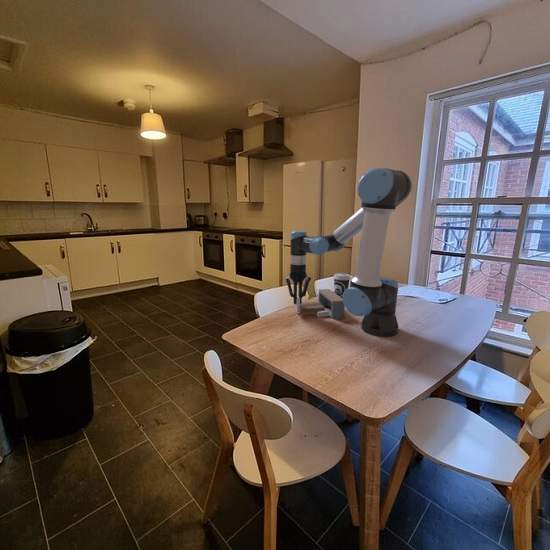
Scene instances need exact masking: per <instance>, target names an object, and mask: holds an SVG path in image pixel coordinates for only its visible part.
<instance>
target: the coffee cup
mask: <svg viewBox="0 0 550 550" xmlns="http://www.w3.org/2000/svg"><path fill="white" fill-rule="evenodd" d="M351 278H352V277H351V276H350V274H349V273H344V272H336V273H334V274H333V284H334V286H333V288H334V293H335V294H337V295H338V296H339V297H341V298H342V299H343V293H344V291H345V290H346V289H347V288H349V287H350V281H351Z"/></svg>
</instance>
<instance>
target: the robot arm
mask: <svg viewBox="0 0 550 550" xmlns="http://www.w3.org/2000/svg"><path fill="white" fill-rule="evenodd" d="M412 188H413V187H412V180H411V178H410V176H409V175H408V174H407V173H406V172H404V171H402V170H398V169H397V170H396V169H390V168H387V167H375V168H371V169H368V171H365V173H364V174H363V175H362V176H361V177H360V179H359V181H358V184H357V196H358V197H359V199H360V200H361V205H360V206H361V207H360V209H358V210H357V211H356V212H355V213H353V214H352V215H351V216H350V217H349V218H348V219H347V220H345V221H344V222H343V223H342V224H341V225H339V227H337V228H336V229H335V230H334V231H333V232H332V233H330V234H329V235H319V236H308V234H307V231H306V230H293V231H291V233H290V240H289V241H290V265H289V266H290V267H289V268H290V271H289V275H288V276H287V277H284V280H285V283H286V284H287V289H288V293H289V296H290V297H291V298H293V304H294V305H295V306H294V307H295V308H294V309H295V311H296V312H298V311H300V304H301V303H303V301H302V299H303V297H306V295H307V291H308V287H309V283H310V282H311V280H312V278H311V277H310V276H309V275H308V274H307V264H306V263H307V254H313V255H316V256H317V255H322V256H323V255H325V254H326V253H328V252H338V251H340V250H342V249H344V248H345V245H346V243H348V242H349V241H350V240H351V239H353V238H354V237H356V236H357V235H358V234H359V233H361V234H360V235H361V237H360V241H359V248H358V249H359V250H358V256H357V265H356V270H355V275H354V276H352V277H350V278H351V279H350V281H349V287H348V288H347V289H346V290H345V291H344V293H343V304H344V306H345V308H346V309H345V310H346V311H347V312H348V313H349V314H351V315H352V316H355V317H363V318H362V321H361V323H360V324H361V325H360V328H361V330H362V331H363V332H365V333H367V334H369V335H372V336H378V337H394V336H396V335H398V334H399V324H398V320H397V316H396V311H397V302H398V301H397V300H398V291H399V282H398V280H397V279H395V278H392V277H385V276H380V274H381V273H380V272H381V267H382V263H383V262H382V261H383V256H384V251H385V250H384V249H385V245H386V239H387V233H388V226H389V221H390V216H391V214H392V213H393V212H395V211H396V208H397V207H398V206H399V205H400V204H402V203H403V202H404V201H405V200H406V199H408V197H409V195H410V193H411V191H412ZM291 281H292V282H293V285H292V284H291ZM303 282H304V283H303ZM292 286H293V289H292Z"/></svg>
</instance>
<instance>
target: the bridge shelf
mask: <svg viewBox="0 0 550 550" xmlns="http://www.w3.org/2000/svg"><path fill="white" fill-rule="evenodd" d="M317 299H318V301H317V302H320V303H321V304H322V305H323V306H328V307H329V308H330V309H331V313H330V310H324V311H320V312H317V315H316V316H317V318H325V317H329V316H330V318H331V319H344V318H345V308H346V307H345V306H344V304H343V299H342V298H341V297H339V296H338V295H337V294H335V291H333V290H331V289H330V288H326V289H318V298H317Z"/></svg>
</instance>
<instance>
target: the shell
mask: <svg viewBox="0 0 550 550" xmlns="http://www.w3.org/2000/svg"><path fill="white" fill-rule="evenodd" d="M325 308H326V307H325V305H322V304H321V303H320V302H318V301H309V302H302V303H301V304H300V311H297V312H299V313H298V314H299V316H300V315H310V316H317V312H320V311H325Z"/></svg>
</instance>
